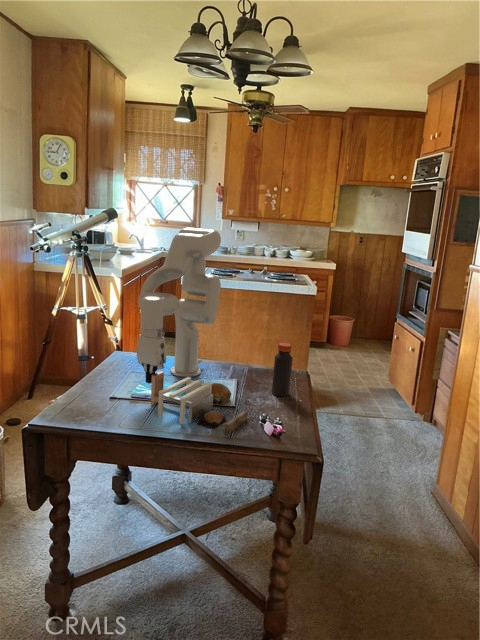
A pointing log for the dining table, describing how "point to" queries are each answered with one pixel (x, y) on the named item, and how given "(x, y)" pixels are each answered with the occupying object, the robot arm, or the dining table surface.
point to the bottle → (282, 370)
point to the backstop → (235, 422)
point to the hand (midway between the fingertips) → (150, 381)
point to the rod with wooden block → (194, 408)
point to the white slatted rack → (193, 394)
